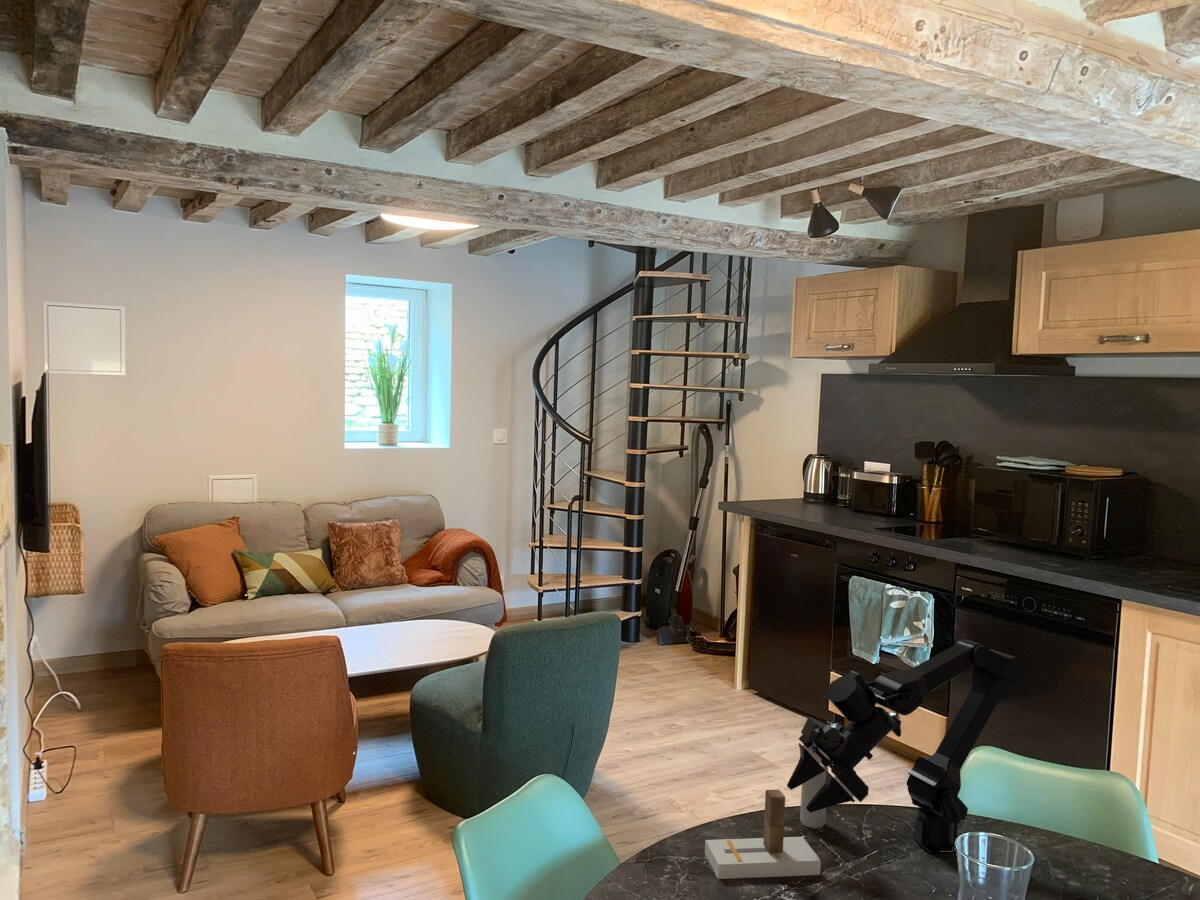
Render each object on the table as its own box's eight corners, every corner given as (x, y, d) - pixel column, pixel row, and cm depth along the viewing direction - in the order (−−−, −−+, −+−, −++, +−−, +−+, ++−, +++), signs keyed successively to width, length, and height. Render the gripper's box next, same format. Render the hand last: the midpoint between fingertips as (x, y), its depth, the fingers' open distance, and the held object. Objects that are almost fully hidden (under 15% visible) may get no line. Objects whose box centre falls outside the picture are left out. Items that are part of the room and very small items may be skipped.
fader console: (801, 850, 162) (802, 835, 162) (820, 874, 153) (820, 859, 153) (704, 853, 159) (705, 839, 159) (717, 879, 151) (718, 863, 150)
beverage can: (823, 819, 175) (826, 758, 174) (827, 830, 170) (830, 768, 169) (798, 817, 175) (801, 756, 175) (801, 828, 170) (804, 766, 170)
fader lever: (777, 843, 158) (779, 789, 158) (782, 851, 155) (785, 796, 155) (763, 844, 158) (765, 789, 157) (768, 852, 155) (771, 797, 154)
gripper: (811, 687, 166) (751, 747, 165) (854, 722, 147) (786, 789, 146) (849, 729, 167) (790, 788, 166) (897, 768, 149) (830, 835, 148)
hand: (798, 798), depth 156 cm, fingers open, 9 cm apart
